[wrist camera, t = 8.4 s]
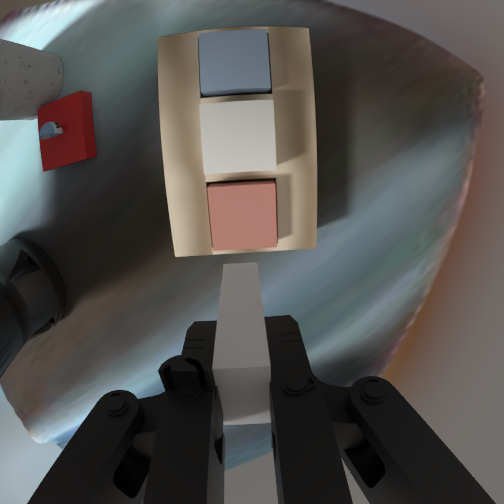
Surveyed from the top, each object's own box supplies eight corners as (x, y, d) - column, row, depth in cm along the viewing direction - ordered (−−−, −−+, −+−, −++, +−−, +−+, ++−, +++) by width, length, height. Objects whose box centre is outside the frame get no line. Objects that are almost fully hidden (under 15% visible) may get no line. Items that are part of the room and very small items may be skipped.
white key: (208, 171, 25) (203, 174, 22) (204, 108, 23) (199, 104, 20) (272, 167, 25) (276, 170, 22) (269, 104, 23) (273, 99, 20)
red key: (216, 239, 29) (213, 251, 26) (210, 183, 27) (207, 187, 24) (273, 236, 29) (276, 247, 26) (271, 179, 27) (275, 183, 24)
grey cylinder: (10, 122, 25) (-53, 129, 14) (21, 59, 22) (-37, 49, 10) (56, 117, 26) (-11, 118, 15) (70, 47, 22) (10, 24, 11)
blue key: (205, 97, 24) (200, 92, 21) (203, 43, 21) (198, 33, 19) (267, 93, 24) (270, 87, 21) (264, 40, 22) (266, 29, 19)
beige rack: (184, 240, 33) (175, 256, 28) (169, 51, 24) (157, 37, 20) (305, 232, 33) (316, 248, 28) (298, 43, 25) (308, 28, 20)
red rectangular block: (49, 109, 26) (19, 108, 20) (92, 93, 26) (63, 87, 20) (55, 168, 29) (25, 176, 23) (98, 156, 29) (70, 161, 23)
